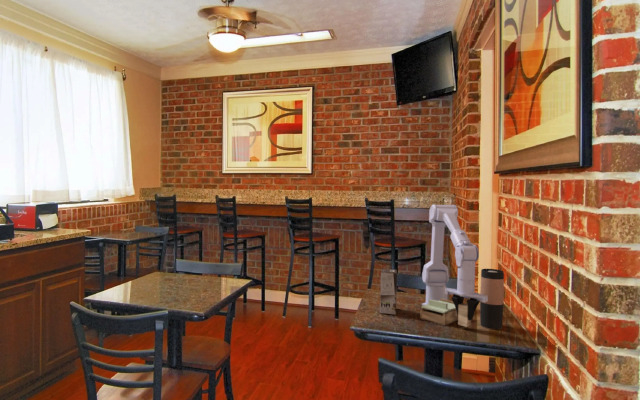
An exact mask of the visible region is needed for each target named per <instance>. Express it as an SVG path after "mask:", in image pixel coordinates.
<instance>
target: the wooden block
mask: <svg viewBox="0 0 640 400" xmlns="http://www.w3.org/2000/svg"><path fill="white" fill-rule="evenodd" d="M457 325H458V326H462V327H465V328H467V327H470V326H472V320H468V305H467V303H464V302H463V303H462V304H459V306H458V320H457Z"/></svg>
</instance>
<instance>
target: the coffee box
mask: <svg viewBox="0 0 640 400" xmlns="http://www.w3.org/2000/svg"><path fill="white" fill-rule="evenodd" d="M379 286H380V290H379V291H380V292H379V293H380V294H379V297H380V298H379V300H380V301H379V313H380V314H387V315H388V314H389V315H396V314H397V299H398V298H397V297H398V296H397V295H398V294H397V292H398V291H397V290H398V271H397V269H392V268H389V269H388V268H386V269H385V268H382V269H381V270H380V285H379Z"/></svg>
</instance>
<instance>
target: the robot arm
mask: <svg viewBox="0 0 640 400" xmlns="http://www.w3.org/2000/svg"><path fill="white" fill-rule="evenodd" d="M458 215H459V209H458V207H457V205H456V204H434V203H433V204H432V205H431V206H430V207H429V213H428V222H429V223H430V224H431V225H432V227H431V246H430V261H428V262H427V263H425V264H424V265H423V268H422V273H421V277H422V278H421V279H422V282H423V283H424V284H425V286H426V287H425V302H423V303H421V306H423V305H426V304H429V300H430V299H431V300H435V301H440V299H445V300H448V295H450V296H451V298H450V299H451V301H453V303H454V305H455V308H456V311H457V316H458V306H459V304H462V303H464V299H465V298H466V299H467V300H466V304H467V305H468V320H471V321H472V320H473V318H474V315H475V311H476V309H477V308H478V305H480V301H482V302H487V301H488V296H486V295H482V294H480V293H479V292H476V291H475V287H476V286H475V285H476V284H475V283H476V281H475V280H476V262H478V260H479V257H480V252H479V248H478V245H476V244H474V243H472V242H471V241H470V238H469V236H468V235H467V233H466V231H465V230H463V229H461V226H460V224H459V221H458ZM445 227H447V228H448V230H449V232H450V236H449V238H450V239H451V242H452V244H453V247H454V249H455V250H454V258H455V262H456V263H455V264H456V266H457V277H456V278H457V279H456V280H457V283H456V285H457V287H456V288H450V287H447V284H448V282H449V279H450V277H449V268H448V266H447V265H446V264H444V263H443V261H444V242H445V241H444V240H445Z"/></svg>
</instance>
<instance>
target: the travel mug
mask: <svg viewBox="0 0 640 400" xmlns="http://www.w3.org/2000/svg"><path fill="white" fill-rule="evenodd" d="M504 280H505V272H504V270H502V269H495V268H482V269H481V271H480V291H479V292H480V293H479V294H482V295H486V296H488V301H487V302H482V301H480V302H479V306H480V307H479V308H480V310H479V312H480V313H479V314H480V315H479V317H480V319H479V321H480V322H479V323H480V326H481V327H483V328H485V329H489V330H501V329H502V328H503V322H504V321H503V320H504V295H505V293H504V292H505V283H504V282H505V281H504Z"/></svg>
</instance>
